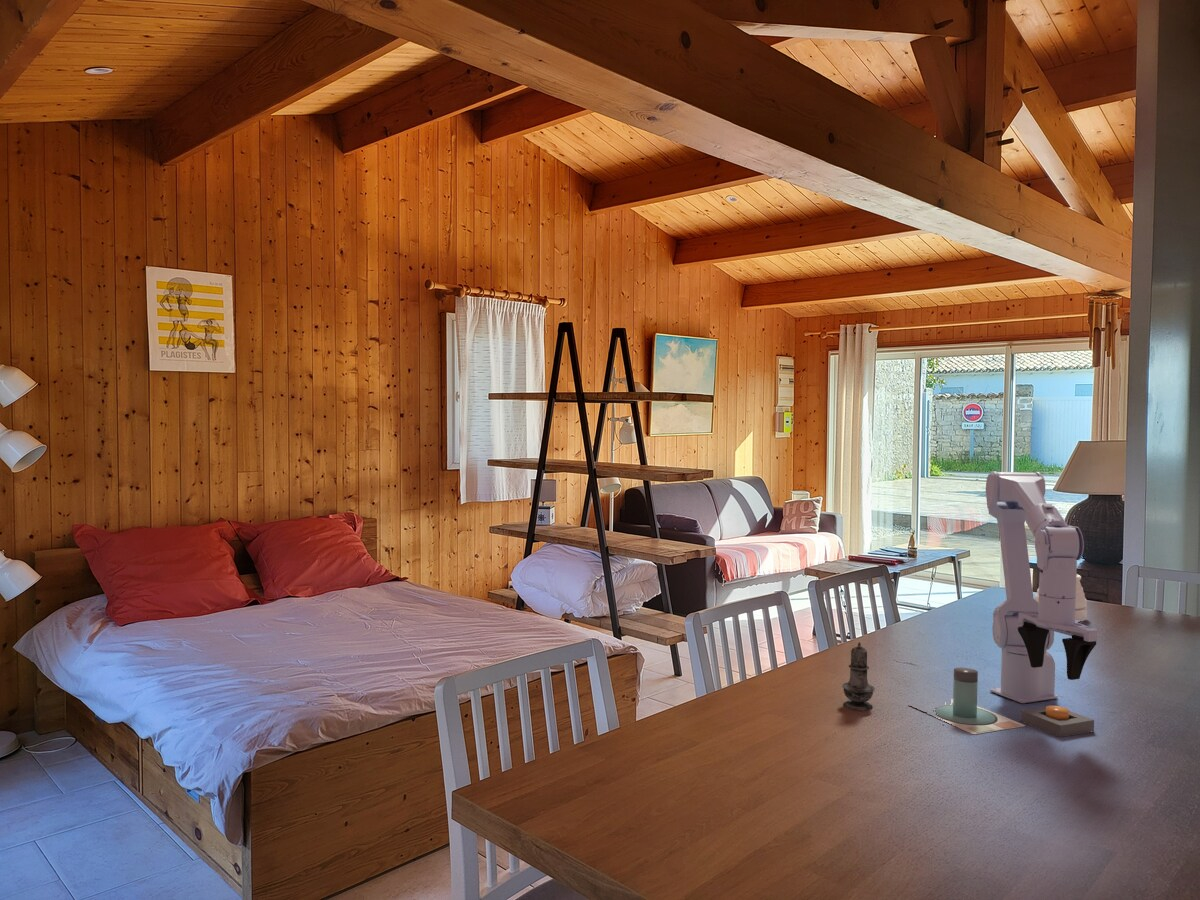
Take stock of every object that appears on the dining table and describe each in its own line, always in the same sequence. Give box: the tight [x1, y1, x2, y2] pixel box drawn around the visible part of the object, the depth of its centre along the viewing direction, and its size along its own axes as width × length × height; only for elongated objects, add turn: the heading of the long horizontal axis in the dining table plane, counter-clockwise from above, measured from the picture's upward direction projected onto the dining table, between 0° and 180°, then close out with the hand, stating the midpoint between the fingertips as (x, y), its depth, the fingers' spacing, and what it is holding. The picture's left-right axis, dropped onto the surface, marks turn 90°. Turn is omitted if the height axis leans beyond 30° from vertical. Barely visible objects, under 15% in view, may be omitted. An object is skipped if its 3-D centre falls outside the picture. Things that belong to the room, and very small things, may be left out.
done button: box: [1045, 705, 1070, 721], centre depth 153 cm, size 4×4×2 cm
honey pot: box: [1033, 573, 1088, 620], centre depth 239 cm, size 13×13×18 cm
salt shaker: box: [841, 641, 876, 712], centre depth 162 cm, size 6×6×12 cm
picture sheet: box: [933, 698, 1027, 735], centre depth 158 cm, size 12×16×1 cm
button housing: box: [1020, 706, 1095, 738], centre depth 153 cm, size 8×8×2 cm
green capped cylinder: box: [952, 667, 979, 718], centre depth 158 cm, size 4×4×8 cm
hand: (1054, 672), depth 152 cm, fingers open, 7 cm apart
